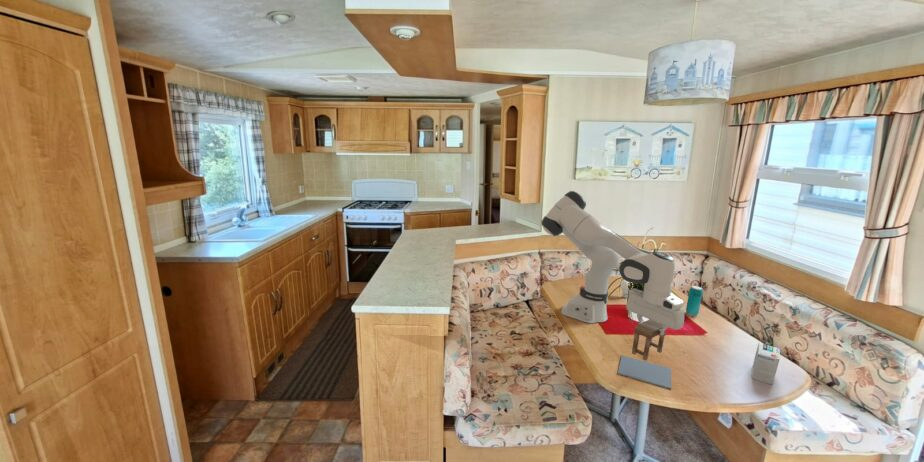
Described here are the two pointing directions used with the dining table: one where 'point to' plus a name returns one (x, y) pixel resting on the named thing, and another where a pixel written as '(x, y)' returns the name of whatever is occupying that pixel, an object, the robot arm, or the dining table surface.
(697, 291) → the beverage can
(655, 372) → the mat
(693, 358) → the dining table surface
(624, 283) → the lightbulb
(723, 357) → the dining table surface
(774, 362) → the light bulb box
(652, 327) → the stool
